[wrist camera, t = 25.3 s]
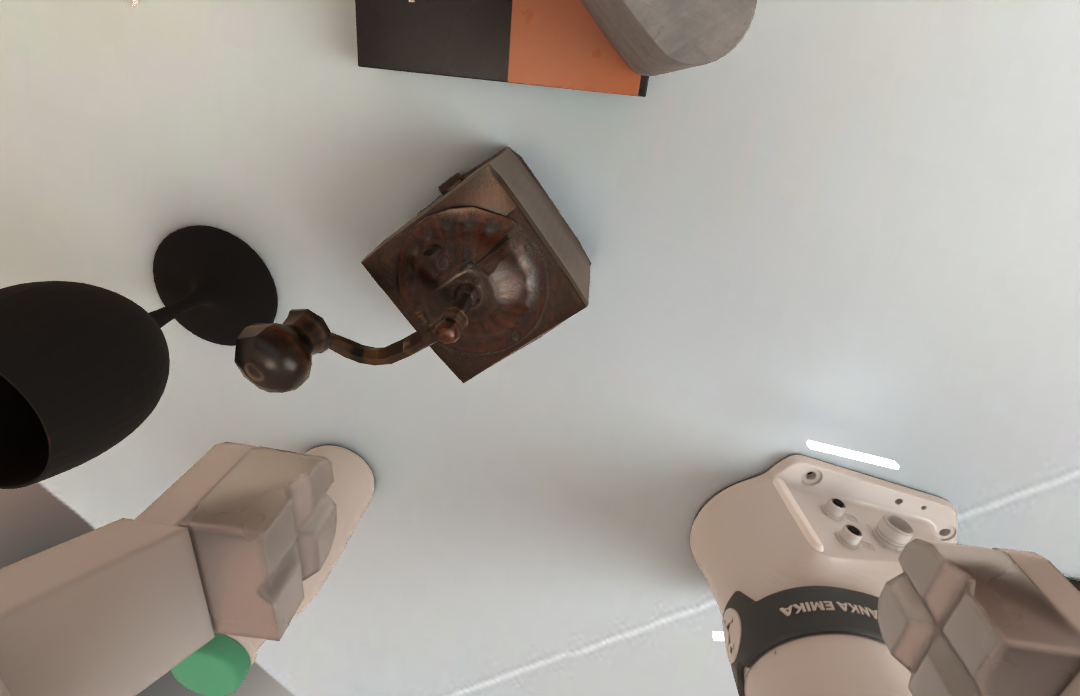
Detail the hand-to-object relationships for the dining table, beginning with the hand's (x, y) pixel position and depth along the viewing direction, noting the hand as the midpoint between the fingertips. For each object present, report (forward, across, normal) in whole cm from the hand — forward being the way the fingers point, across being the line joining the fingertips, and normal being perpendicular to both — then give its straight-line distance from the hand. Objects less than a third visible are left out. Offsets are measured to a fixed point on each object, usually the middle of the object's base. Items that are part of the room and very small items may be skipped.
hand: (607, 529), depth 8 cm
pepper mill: (+34, +9, +7) cm, 36 cm away
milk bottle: (+34, +21, +30) cm, 50 cm away
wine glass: (+34, +30, +12) cm, 47 cm away
